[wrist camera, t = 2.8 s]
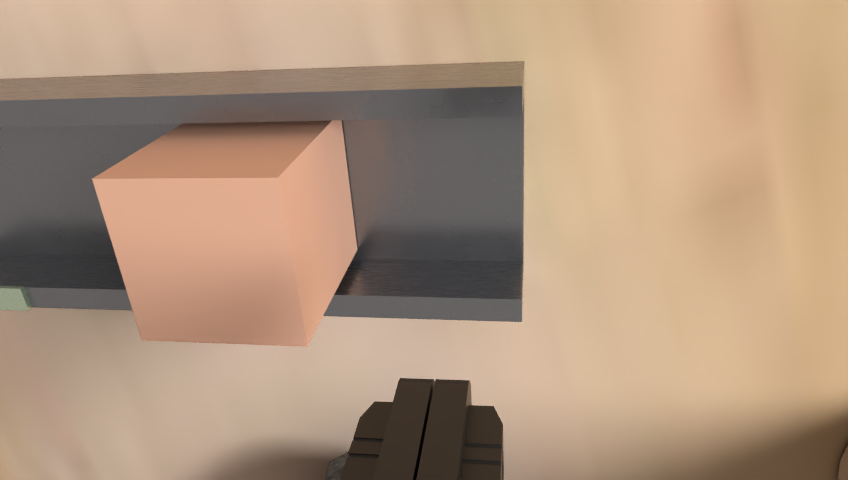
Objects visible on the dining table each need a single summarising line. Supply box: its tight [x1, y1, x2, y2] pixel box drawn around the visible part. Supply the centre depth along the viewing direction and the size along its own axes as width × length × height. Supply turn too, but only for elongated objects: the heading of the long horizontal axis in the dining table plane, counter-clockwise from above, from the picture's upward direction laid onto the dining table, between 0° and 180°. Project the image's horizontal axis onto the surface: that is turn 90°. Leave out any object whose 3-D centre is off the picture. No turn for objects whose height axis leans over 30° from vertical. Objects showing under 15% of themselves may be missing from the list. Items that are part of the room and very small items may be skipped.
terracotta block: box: [92, 120, 357, 347], centre depth 24 cm, size 6×6×7 cm
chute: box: [0, 61, 524, 322], centre depth 27 cm, size 26×9×4 cm, turn 94°
